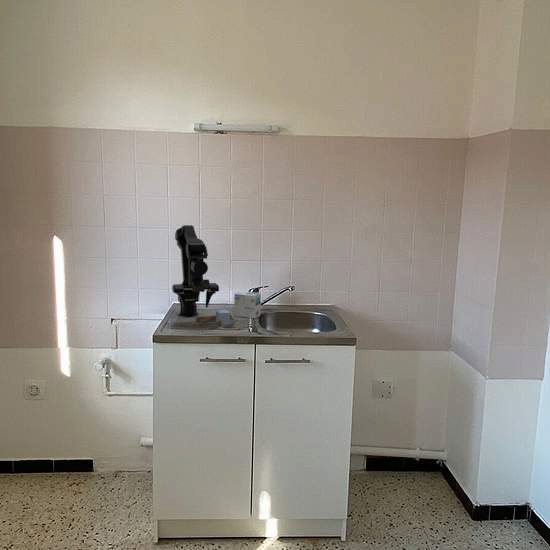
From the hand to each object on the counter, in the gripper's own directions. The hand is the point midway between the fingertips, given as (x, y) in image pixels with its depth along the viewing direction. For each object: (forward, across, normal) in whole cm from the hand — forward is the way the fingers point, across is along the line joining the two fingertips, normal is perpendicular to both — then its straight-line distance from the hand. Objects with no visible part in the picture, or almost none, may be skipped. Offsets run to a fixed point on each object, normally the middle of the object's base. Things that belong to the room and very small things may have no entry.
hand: (195, 308), depth 203 cm
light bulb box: (+7, +25, +9) cm, 28 cm away
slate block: (+7, +12, 0) cm, 14 cm away
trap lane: (+7, +9, -2) cm, 12 cm away
